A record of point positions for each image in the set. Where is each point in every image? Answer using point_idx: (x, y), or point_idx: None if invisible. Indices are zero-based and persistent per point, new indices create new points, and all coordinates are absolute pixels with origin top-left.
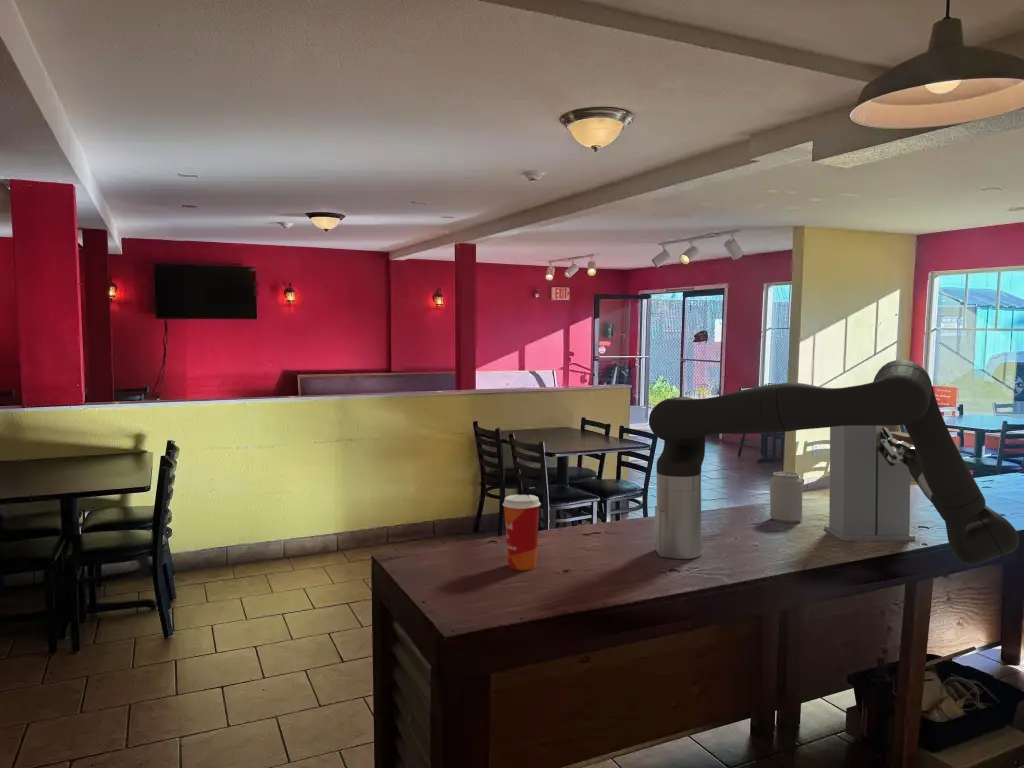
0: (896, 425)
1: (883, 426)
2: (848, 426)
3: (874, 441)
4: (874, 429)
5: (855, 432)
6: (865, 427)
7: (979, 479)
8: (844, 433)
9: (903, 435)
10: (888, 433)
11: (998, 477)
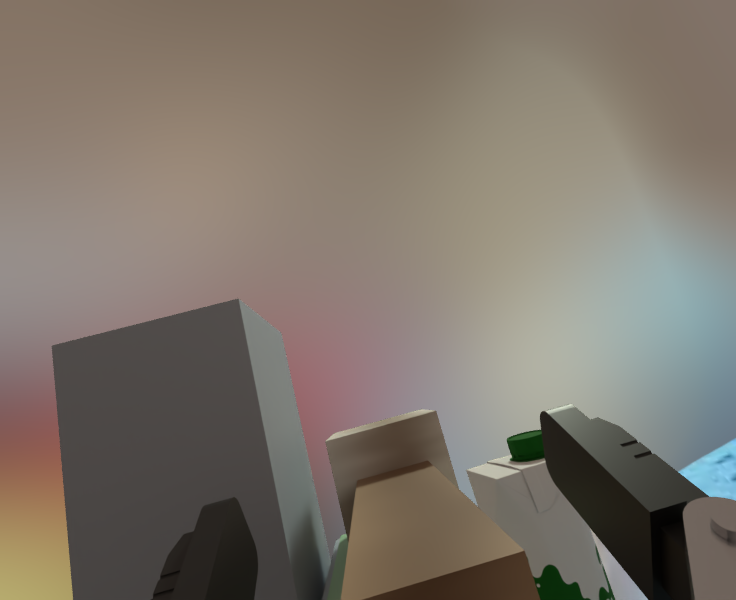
0: (424, 429)
1: (359, 453)
2: (94, 523)
3: (283, 585)
4: (264, 499)
5: (146, 554)
6: (205, 501)
7: (709, 458)
8: (72, 582)
9: (366, 550)
10: (185, 580)
11: (732, 446)
